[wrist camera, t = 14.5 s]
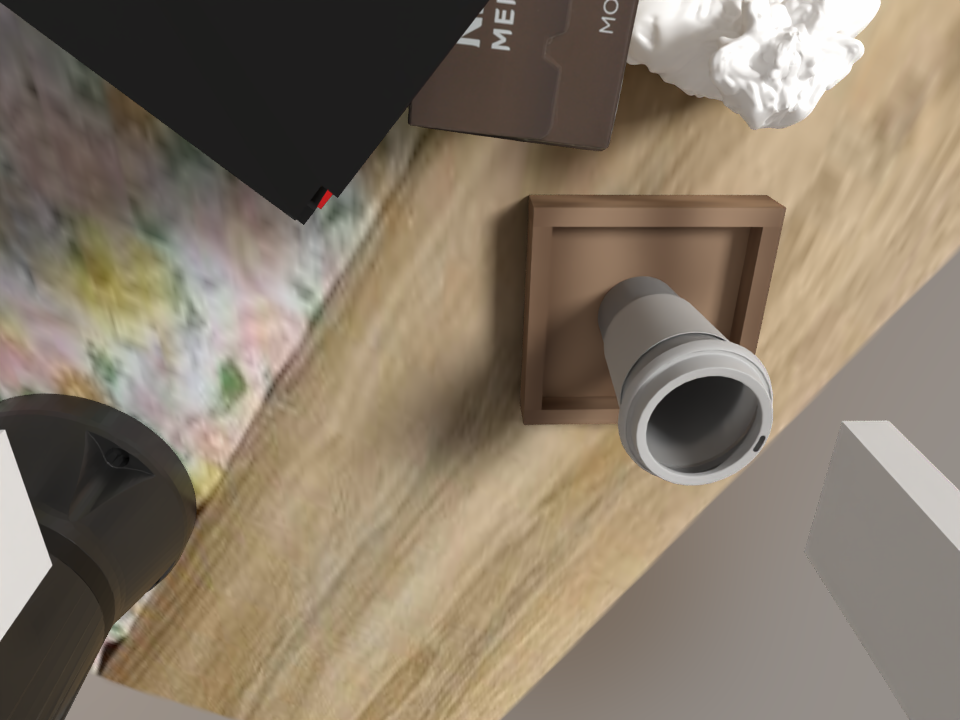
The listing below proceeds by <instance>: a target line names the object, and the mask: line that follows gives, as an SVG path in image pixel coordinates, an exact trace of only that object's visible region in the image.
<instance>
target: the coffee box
mask: <svg viewBox="0 0 960 720" xmlns="http://www.w3.org/2000/svg"><path fill="white" fill-rule="evenodd" d="M638 3H639V0H489V2H488V3H487V4H486V5H485V7H484V8H483V9H482V11H481V12H480V13H479V15H478V16H477V17H476V18H475V20H474V21H473V22H472V24H471V25H470V26H469V28H468V29H467V30H466V31H465V33H464V34H463V35H462V37H461V38H460V39H459V41H458V42H457V43H456V44H455V46H454V47H453V48H452V50H451V51H450V52H449V54H448V55H447V56H446V57H445V59H444V60H443V61H442V63H441V64H440V65H439V67H438V68H437V69H436V71H435V72H434V73H433V74H432V76H431V77H430V78H429V80H428V81H427V82H426V84H425V85H424V86H423V87H422V89H421V90H420V91H419V93H418V94H417V95H416V97H415V98H414V99H413V100H412V102H411V103H410V104H409V114H408V124H409V125H412V126H418V127H424V128H430V129H437V130H444V131H451V132H458V133H465V134H472V135H479V136H487V137H494V138H501V139H508V140H515V141H522V142H531V143H539V144H546V145H553V146H562V147H569V148H577V149H585V150H593V151H602V150H604V149H606V148H608V146H609V143H610V139H611V134H612V130H613V125H614V121H615V116H616V112H617V107H618V102H619V97H620V92H621V87H622V82H623V77H624V72H625V67H626V61H627V56H628V51H629V47H630V42H631V37H632V32H633V27H634V22H635V17H636V13H637V8H638Z"/></svg>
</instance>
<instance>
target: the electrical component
mask: <svg viewBox="0 0 960 720" xmlns="http://www.w3.org/2000/svg"><path fill="white" fill-rule="evenodd" d="M0 2H1V3H2V4H3V5H5V6H6V7H7V8H9V9H10V10H11V11H13V12H14V13H16V14H17V15H18V16H20V17H21V18H22V19H24V20H25V21H26V22H28V23H29V24H30V25H32V26H33V27H34V28H36V29H37V30H38V31H40V32H41V33H43V34H44V35H45V36H47V37H48V38H49V39H51V40H52V41H53V42H55V43H56V44H57V45H59V46H60V47H61V48H63V49H64V50H65V51H67V52H68V53H70V54H71V55H72V56H74V57H75V58H76V59H78V60H79V61H80V62H82V63H83V64H84V65H86V66H87V67H88V68H90V69H91V70H92V71H94V72H95V73H97V74H98V75H99V76H101V77H102V78H103V79H105V80H106V81H107V82H109V83H110V84H111V85H113V86H114V87H115V88H117V89H118V90H120V91H121V92H122V93H124V94H125V95H126V96H128V97H129V98H130V99H132V100H133V101H134V102H136V103H137V104H138V105H140V106H141V107H142V108H144V109H145V110H147V111H148V112H149V113H151V114H152V115H153V116H155V117H156V118H157V119H159V120H160V121H161V122H163V123H164V124H165V125H167V126H168V127H169V128H171V129H172V130H174V131H175V132H176V133H178V134H179V135H180V136H182V137H183V138H184V139H186V140H187V141H188V142H190V143H191V144H192V145H194V146H195V147H196V148H198V149H199V150H201V151H202V152H203V153H205V154H206V155H207V156H209V157H210V158H211V159H213V160H214V161H215V162H217V163H218V164H219V165H221V166H222V167H223V168H225V169H226V170H228V171H229V172H230V173H232V174H233V175H234V176H236V177H237V178H238V179H240V180H241V181H242V182H244V183H245V184H246V185H248V186H249V187H251V188H252V189H253V190H255V191H256V192H257V193H259V194H260V195H261V196H263V197H264V198H265V199H267V200H268V201H269V202H271V203H272V204H273V205H275V206H276V207H278V208H279V209H280V210H282V211H283V212H284V213H286V214H287V215H288V216H290V217H291V218H292V219H294V220H298V221H299V222H300V223H302V224H303V225H304V224H305V223H306V222H307V220H308V219H309V218H310V216H311V215H312V214H313V212H314V211H315V209H316V208H317V207H318V208H320V209H321V208H322V207H323V206H324V205H325V203H326V202H327V201H328V200H329V198H330V197H331V196H332V195H335V196H336V197H337V198H338V197H339V195H340V194H341V193H342V191H343V190H344V189H345V188H346V186H347V185H348V184H349V182H350V181H351V180H352V178H353V177H354V176H355V175H356V173H357V172H358V171H359V169H360V168H361V167H362V165H363V164H364V163H365V162H366V160H367V159H368V158H369V156H370V155H371V154H372V152H373V151H374V150H375V149H376V147H377V146H378V145H379V143H380V142H381V141H382V139H383V138H384V137H385V136H386V134H387V133H388V132H389V130H390V129H391V128H392V126H393V125H394V124H395V123H396V121H397V120H398V119H399V117H400V116H401V115H402V113H403V112H404V111H405V110H406V108H407V107H408V106H409V104H410V103H411V102H412V100H413V99H414V98H415V97H416V95H417V94H418V93H419V91H420V90H421V89H422V87H423V86H424V85H425V84H426V82H427V81H428V80H429V78H430V77H431V76H432V74H433V73H434V72H435V71H436V69H437V68H438V67H439V65H440V64H441V63H442V61H443V60H444V59H445V57H446V56H447V55H448V54H449V52H450V51H451V50H452V48H453V47H454V46H455V44H456V43H457V42H458V41H459V39H460V38H461V37H462V35H463V34H464V33H465V31H466V30H467V29H468V28H469V26H470V25H471V24H472V22H473V21H474V20H475V18H476V17H477V16H478V15H479V13H480V12H481V11H482V9H483V8H484V7H485V5H486V4H487V3H488V2H489V0H0Z"/></svg>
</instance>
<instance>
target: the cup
mask: <svg viewBox="0 0 960 720" xmlns="http://www.w3.org/2000/svg"><path fill="white" fill-rule="evenodd" d="M598 324H599V328H600V332H601V335H602V339H603V342H604V355H605V358H606V362H607V365H608V369H609V372H610V376H611V379H612V383H613V386H614V390H615V394H616V397H617V401H618V404H619V408H620V410H619V416H618V429H619V435H620V439H621V442H622V445H623V447H624V449H625V450H626V452H627V453H628V455H629V456H630V457H631V458H632V460H633V461H634V462H635V463H636V464H637V465H638V466H640V467H641V468H642V469H644V470H645V471H647V472H649V473H650V474H652V475H655V476H658V477H660V478H662V479H663V480H666V481H669V482H672V483H675V484H681V485H703V484H709V483H713V482H716V481H719V480H722V479H725V478H727V477H729V476H731V475H733V474H734V473H736V472H738V471H739V470H741V469H742V468H743V467H745V466H746V465H748V464H749V463H750V462H751V461H752V460H753V459H754V458H755V457H756V456H757V454H758V453H759V452H760V450H761V449H762V447H763V446H764V445H765V442H766V440H767V438H768V436H769V434H770V431H771V427H772V423H773V408H772V405H773V392H772V386H771V381H770V378H769V375H768V373H767V370H766V368H765V367H764V365H763V364H762V362H761V361H760V360H759V359H758V358H757V357H756V356H755V355H754V354H753V353H752V352H750V351H749V350H748V349H746V348H744V347H742V346H740V345H738V344H735V343H732V342H730V341H729V340H728V339H727V338H725V337H724V336H723V335H722V334H721V333H720V332H719V331H718V330H717V329H716V328H715V327H714V326H713V325H712V324H711V323H710V322H709V321H708V320H707V319H706V318H705V317H704V316H703V315H702V314H701V313H700V312H699V311H698V310H696V309H695V308H694V307H693V306H692V305H691V304H690V303H689V302H687V301H686V300H684V299H683V298H680V297H679V296H678V295H677V294H676V293H675V292H674V291H673V290H672V289H671V288H670V287H669V286H668V285H667V284H666V283H664V282H663V281H661V280H659V279H656V278H652V277H645V276H640V277H633V278H630V279H627V280H624V281H622V282H620V283H619V284H617V285H616V286H614V287H613V288H612V289H611V290H610V291H609V292H608V293H607V294H606V296H605V297H604V299H603V300H602V302H601V305H600V307H599V311H598Z"/></svg>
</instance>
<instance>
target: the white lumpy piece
mask: <svg viewBox="0 0 960 720" xmlns="http://www.w3.org/2000/svg"><path fill="white" fill-rule="evenodd" d="M880 3H881V1H880V0H639V3H638V8H637V13H636V17H635V22H634V27H633V32H632V37H631V42H630V47H629V51H628V56H627V61H626V62H627V63H629V64H630V65H638V64H645V65H646V66H647V67H648V69H649V71H650V72H652V73H657V74H659V75H660V77H661V78H662V80H663V81H664V82H667V83H670V84H674V85H676V86H677V87H679V88H680V89H681V90H682V91H684V92H685V93H686V94H687V95H690V96H692V95H695V96H696V97H698V98H701V97H707V98H710V99H718V100H720V101H723V103H724V105H725V106H726V107H728V108H729V109H731V110H732V111H733V112H735V113H737V114H740V116H741V117H742V118H743V119H744V120H745V121H746V122H747V124H748V126H749V127H750V128H751V129H753V130H756V129H760V128H777V129H779V128H785V127H788V126H791V125H793V124H796V123H798V122H800V121H801V120H803V119H805V118H806V117H807V116H808V115H809V114H810V113H811V112H812V110H813V109H814V108H815V106H816V104H817V102H818V100H819V99H820V97H821V96H822V95H823V94H824V92H825V90H830V89H831V88H832V87H834V86H835V85H836V84H837V83H838V82H839V81H841V80H842V79H843V78H844V77H845V76H846V75H847V74H848V73H849V72H850V70H851V68H852V65H853V63H855V62H856V61H857V60H859V59H860V58H861V57H862V55H863V53H864V46H863V44H862V43H861V41H859V40H857V39H854V38H855V37H856V36H857V35H858V34H859V33H860V32H861V31H862V30H863V29H864V28H865V27H866V26H867V25H868V24H869V23H870V22H871V20H872V19H873V18H874V16H875V15H876V13H877V12H878V10H879V7H880Z"/></svg>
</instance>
